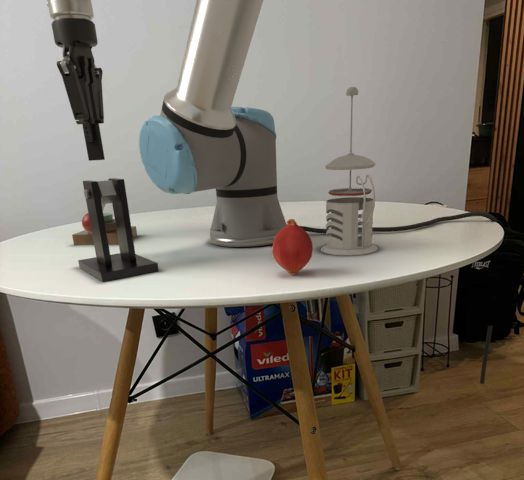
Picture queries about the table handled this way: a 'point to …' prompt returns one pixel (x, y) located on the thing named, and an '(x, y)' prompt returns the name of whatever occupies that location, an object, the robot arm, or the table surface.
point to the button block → (111, 231)
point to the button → (108, 217)
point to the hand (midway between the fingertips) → (96, 160)
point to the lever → (106, 197)
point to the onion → (292, 247)
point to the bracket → (126, 260)
